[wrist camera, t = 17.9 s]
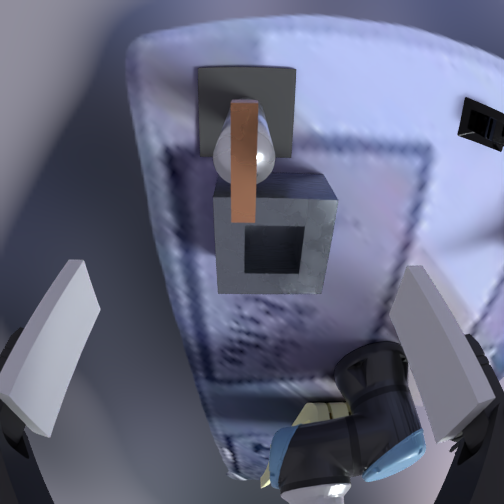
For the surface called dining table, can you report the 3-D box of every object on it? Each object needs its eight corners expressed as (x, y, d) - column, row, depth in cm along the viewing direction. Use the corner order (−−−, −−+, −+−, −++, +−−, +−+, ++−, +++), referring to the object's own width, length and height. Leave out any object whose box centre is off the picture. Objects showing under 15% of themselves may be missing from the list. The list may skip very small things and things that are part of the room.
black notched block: (514, 114, 29) (534, 123, 26) (503, 159, 34) (522, 171, 30) (454, 86, 29) (475, 92, 25) (443, 138, 33) (462, 150, 29)
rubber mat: (290, 156, 34) (291, 157, 34) (200, 155, 34) (200, 156, 34) (295, 69, 29) (296, 69, 28) (198, 68, 29) (198, 68, 28)
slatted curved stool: (392, 393, 66) (410, 457, 51) (365, 422, 75) (376, 478, 60) (272, 395, 63) (276, 472, 48) (259, 424, 72) (260, 488, 57)
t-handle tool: (264, 81, 29) (280, 103, 15) (262, 144, 33) (273, 223, 19) (229, 81, 29) (208, 103, 15) (229, 144, 33) (212, 222, 19)
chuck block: (311, 258, 42) (321, 293, 37) (221, 258, 42) (217, 293, 36) (323, 174, 36) (338, 200, 30) (219, 171, 35) (212, 197, 30)
